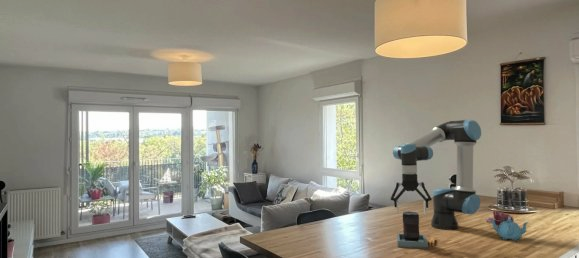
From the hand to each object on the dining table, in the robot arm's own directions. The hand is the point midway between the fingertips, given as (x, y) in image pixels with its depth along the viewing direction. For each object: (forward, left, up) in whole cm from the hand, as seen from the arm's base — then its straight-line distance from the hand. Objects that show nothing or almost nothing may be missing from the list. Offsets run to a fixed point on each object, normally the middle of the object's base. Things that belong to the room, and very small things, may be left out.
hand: (411, 213), depth 183 cm
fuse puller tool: (-10, -4, -15) cm, 19 cm away
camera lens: (0, 0, -15) cm, 15 cm away
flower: (-52, -42, -16) cm, 69 cm away
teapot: (-50, -19, -16) cm, 56 cm away
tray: (0, 0, -15) cm, 15 cm away
